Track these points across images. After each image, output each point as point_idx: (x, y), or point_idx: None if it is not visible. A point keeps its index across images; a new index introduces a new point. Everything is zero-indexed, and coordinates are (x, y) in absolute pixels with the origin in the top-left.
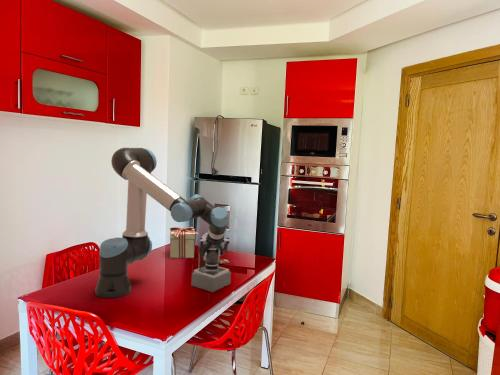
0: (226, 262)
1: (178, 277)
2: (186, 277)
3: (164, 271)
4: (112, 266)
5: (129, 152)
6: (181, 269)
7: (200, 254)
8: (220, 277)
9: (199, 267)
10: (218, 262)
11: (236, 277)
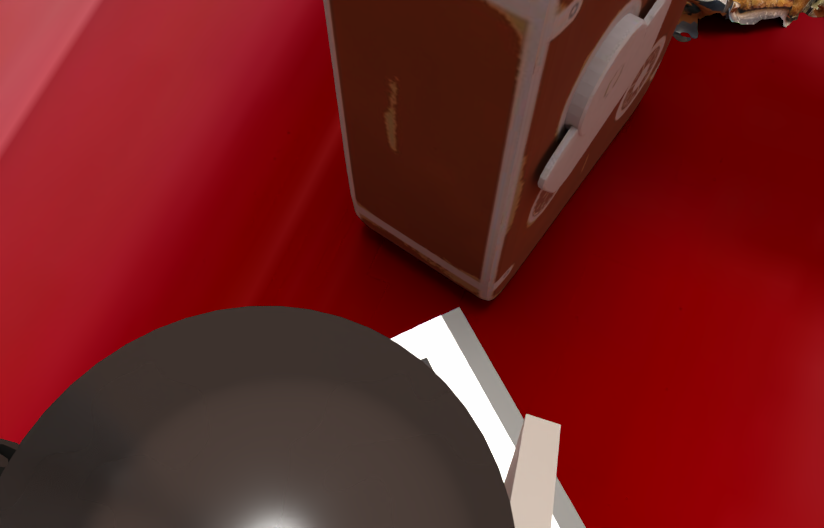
0: (819, 2)
1: (114, 221)
2: (195, 253)
3: (77, 21)
4: None
5: None
6: (263, 26)
7: (349, 75)
8: None
9: (357, 191)
10: (713, 12)
11: (801, 488)
